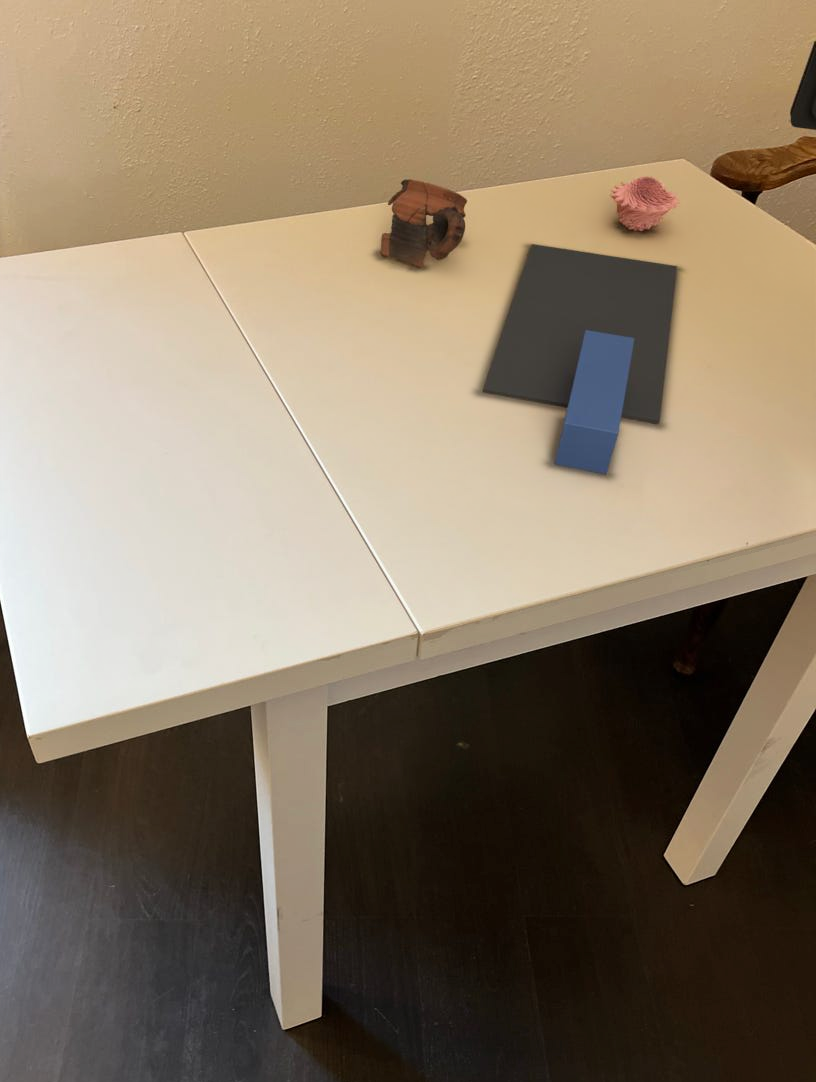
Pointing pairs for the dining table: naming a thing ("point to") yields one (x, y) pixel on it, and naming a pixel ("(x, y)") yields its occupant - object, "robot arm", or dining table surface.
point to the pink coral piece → (643, 202)
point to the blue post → (595, 402)
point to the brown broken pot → (424, 223)
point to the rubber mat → (584, 326)
